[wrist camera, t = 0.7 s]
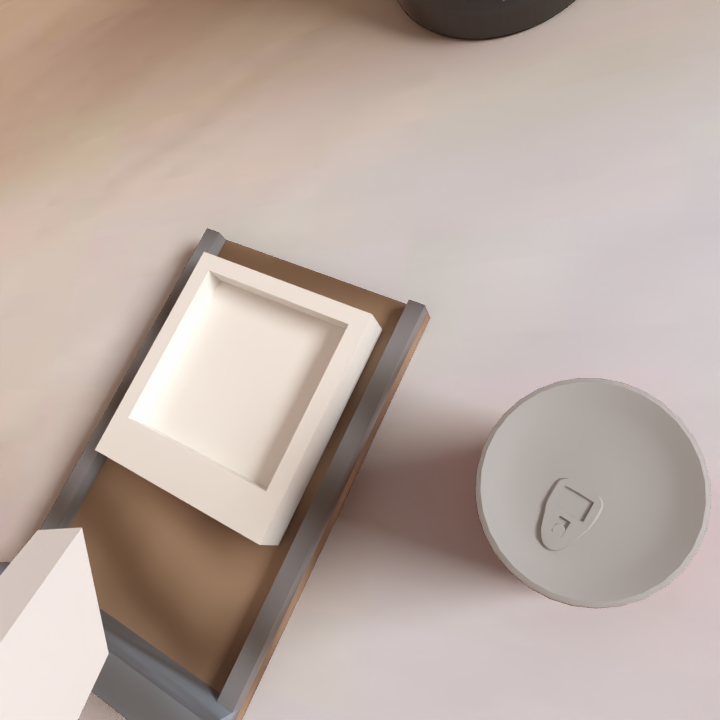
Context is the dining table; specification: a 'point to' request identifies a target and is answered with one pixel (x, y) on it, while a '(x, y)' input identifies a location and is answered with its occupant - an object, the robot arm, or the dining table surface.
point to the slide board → (216, 535)
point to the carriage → (241, 395)
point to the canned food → (593, 493)
